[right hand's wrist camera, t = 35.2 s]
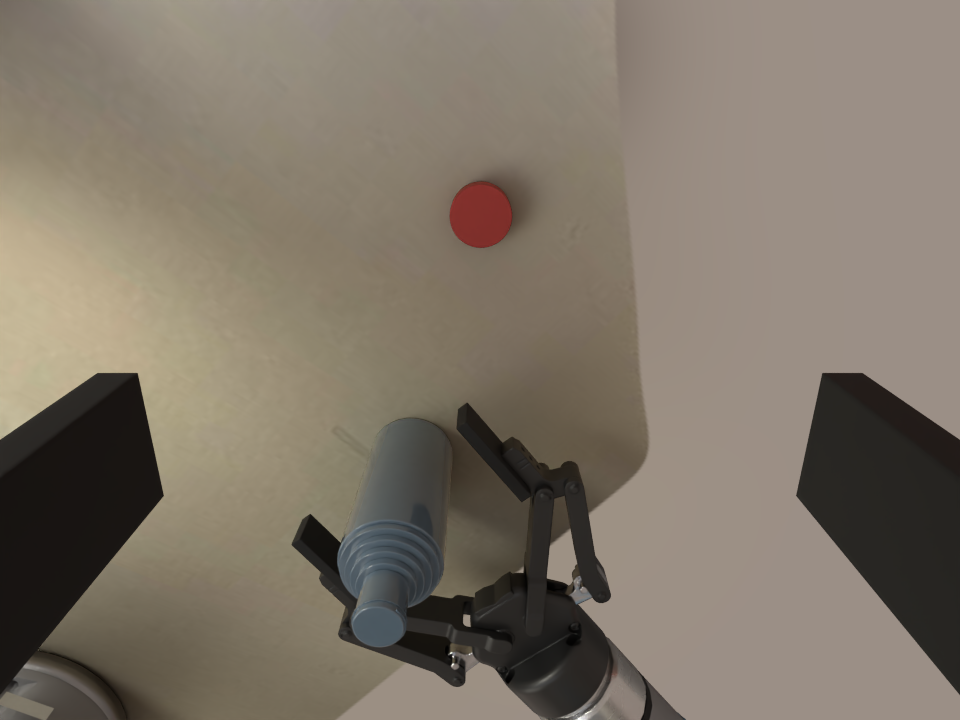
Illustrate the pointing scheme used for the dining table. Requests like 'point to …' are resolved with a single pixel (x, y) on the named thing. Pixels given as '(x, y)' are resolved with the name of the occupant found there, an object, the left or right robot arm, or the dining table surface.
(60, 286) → the dining table surface
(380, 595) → the bottle
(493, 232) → the cap
